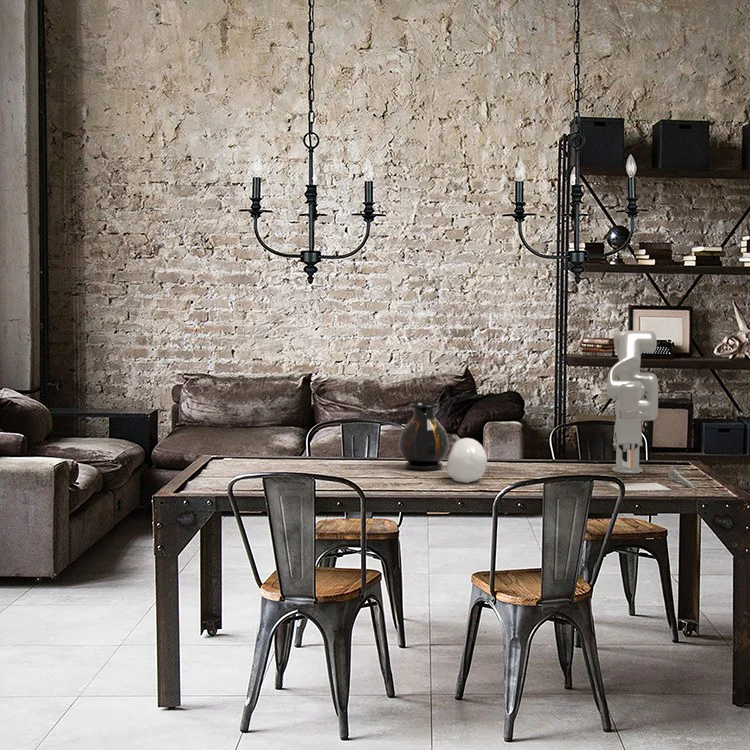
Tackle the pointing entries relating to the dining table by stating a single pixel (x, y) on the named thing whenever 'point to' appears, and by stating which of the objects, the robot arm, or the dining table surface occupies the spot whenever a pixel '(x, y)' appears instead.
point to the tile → (628, 459)
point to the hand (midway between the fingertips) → (627, 460)
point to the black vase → (423, 439)
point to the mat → (642, 486)
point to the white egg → (466, 460)
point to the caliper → (678, 477)
